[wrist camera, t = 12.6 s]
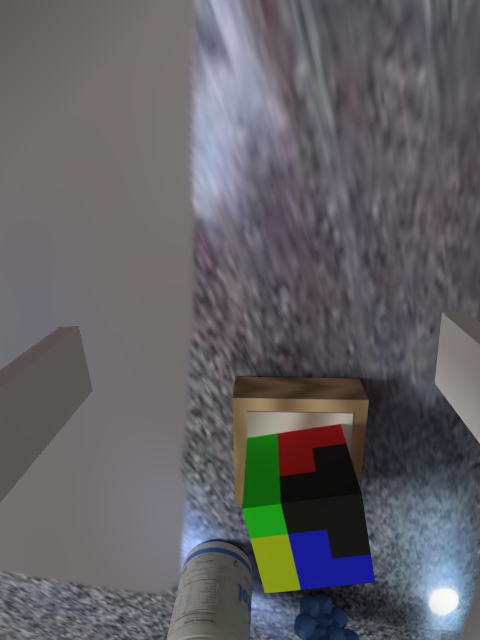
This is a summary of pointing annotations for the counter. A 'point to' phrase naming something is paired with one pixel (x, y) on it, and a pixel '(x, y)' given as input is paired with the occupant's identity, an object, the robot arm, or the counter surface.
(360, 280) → the counter surface
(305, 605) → the grapes
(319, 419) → the oak picture frame
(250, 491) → the puzzle toy
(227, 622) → the supplement tub
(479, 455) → the counter surface
